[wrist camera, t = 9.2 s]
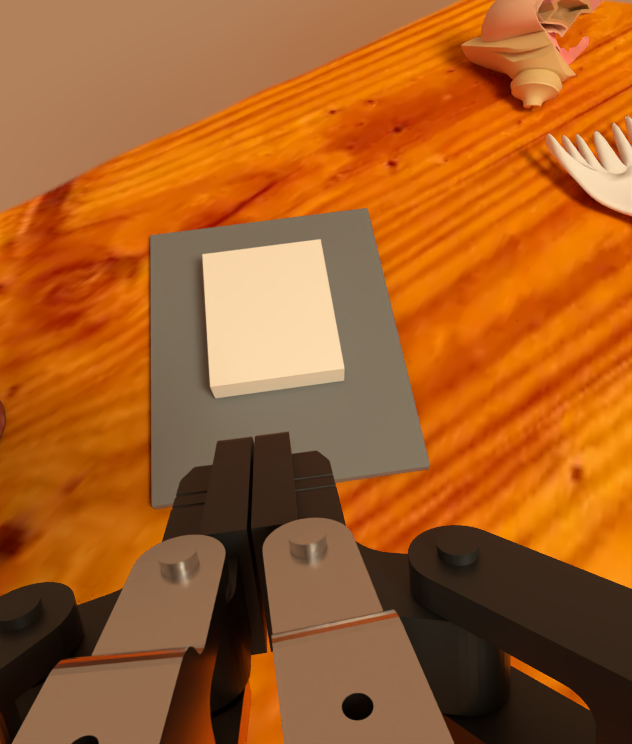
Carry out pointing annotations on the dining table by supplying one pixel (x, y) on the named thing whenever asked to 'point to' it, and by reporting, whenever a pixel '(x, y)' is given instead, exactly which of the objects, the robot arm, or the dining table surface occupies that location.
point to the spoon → (600, 167)
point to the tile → (270, 319)
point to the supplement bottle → (2, 419)
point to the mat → (292, 405)
